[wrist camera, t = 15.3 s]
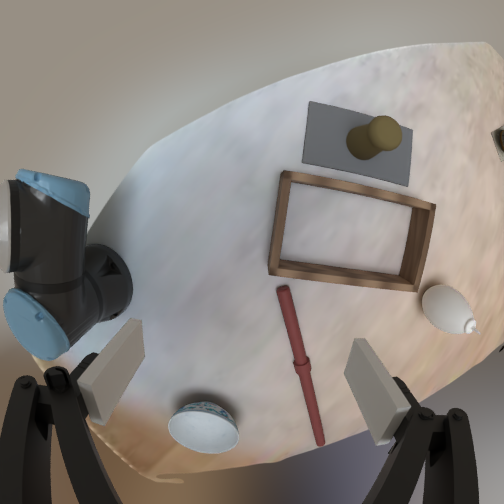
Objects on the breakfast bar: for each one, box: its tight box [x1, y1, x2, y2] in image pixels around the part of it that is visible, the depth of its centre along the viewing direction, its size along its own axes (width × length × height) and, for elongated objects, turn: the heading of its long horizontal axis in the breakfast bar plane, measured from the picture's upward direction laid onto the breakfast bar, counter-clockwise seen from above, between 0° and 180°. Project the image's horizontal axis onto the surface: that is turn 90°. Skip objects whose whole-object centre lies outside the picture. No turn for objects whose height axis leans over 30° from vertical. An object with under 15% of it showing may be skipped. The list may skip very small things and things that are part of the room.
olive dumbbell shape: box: [346, 116, 402, 160], centre depth 36 cm, size 6×6×11 cm
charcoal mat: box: [302, 101, 413, 187], centre depth 41 cm, size 20×11×1 cm, turn 82°
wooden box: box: [268, 170, 436, 292], centre depth 42 cm, size 26×15×6 cm, turn 82°
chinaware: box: [168, 401, 239, 453], centre depth 51 cm, size 15×15×8 cm
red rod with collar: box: [277, 286, 325, 446], centre depth 51 cm, size 45×3×3 cm, turn 16°
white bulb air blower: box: [422, 285, 481, 334], centre depth 38 cm, size 8×8×18 cm
